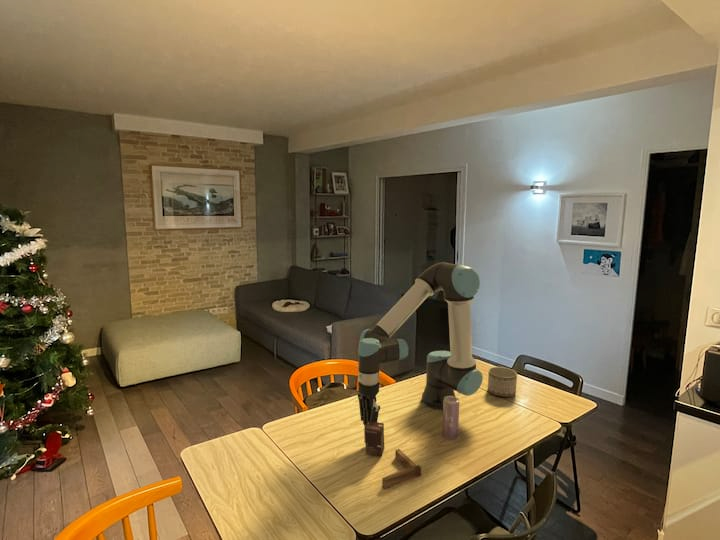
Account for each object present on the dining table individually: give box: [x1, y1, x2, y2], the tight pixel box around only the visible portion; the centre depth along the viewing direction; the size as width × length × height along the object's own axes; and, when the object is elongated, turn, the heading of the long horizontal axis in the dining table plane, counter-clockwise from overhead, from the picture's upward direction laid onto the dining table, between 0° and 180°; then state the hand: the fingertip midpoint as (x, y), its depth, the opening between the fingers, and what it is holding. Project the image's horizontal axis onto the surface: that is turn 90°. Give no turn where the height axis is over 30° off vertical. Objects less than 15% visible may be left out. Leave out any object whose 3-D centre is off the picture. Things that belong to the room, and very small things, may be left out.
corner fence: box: [381, 448, 422, 490], centre depth 135 cm, size 12×14×3 cm
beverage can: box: [441, 396, 460, 440], centre depth 155 cm, size 6×6×15 cm
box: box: [364, 421, 385, 458], centre depth 143 cm, size 6×4×12 cm
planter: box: [487, 366, 518, 398], centre depth 192 cm, size 13×13×10 cm
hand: (368, 442), depth 149 cm, fingers closed
